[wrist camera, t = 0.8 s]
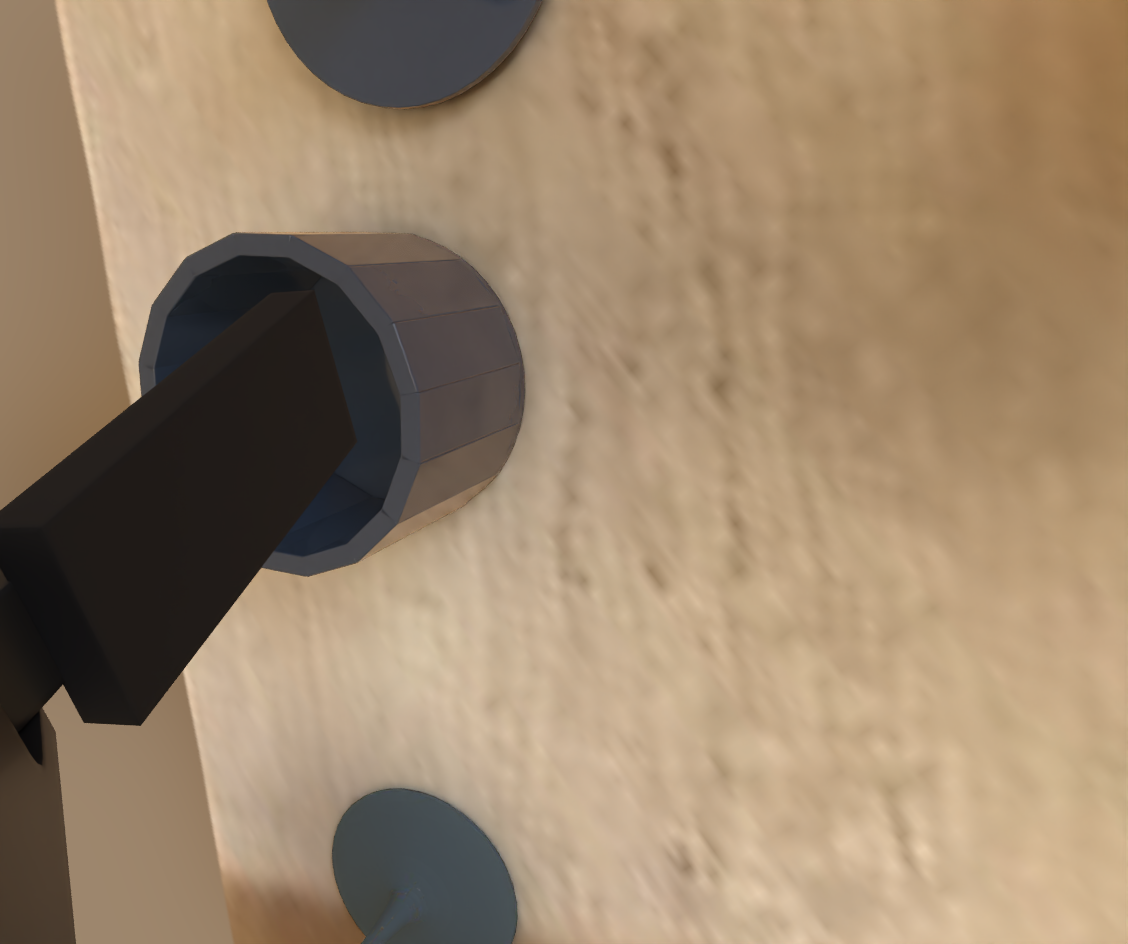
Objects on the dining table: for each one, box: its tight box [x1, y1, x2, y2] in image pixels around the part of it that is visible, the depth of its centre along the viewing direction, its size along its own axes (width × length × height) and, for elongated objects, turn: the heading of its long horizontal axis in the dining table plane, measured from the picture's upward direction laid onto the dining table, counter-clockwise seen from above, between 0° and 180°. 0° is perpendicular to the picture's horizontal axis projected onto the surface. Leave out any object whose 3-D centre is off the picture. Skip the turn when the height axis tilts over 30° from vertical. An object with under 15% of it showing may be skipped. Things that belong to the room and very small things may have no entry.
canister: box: [139, 232, 525, 577], centre depth 39 cm, size 13×13×8 cm
